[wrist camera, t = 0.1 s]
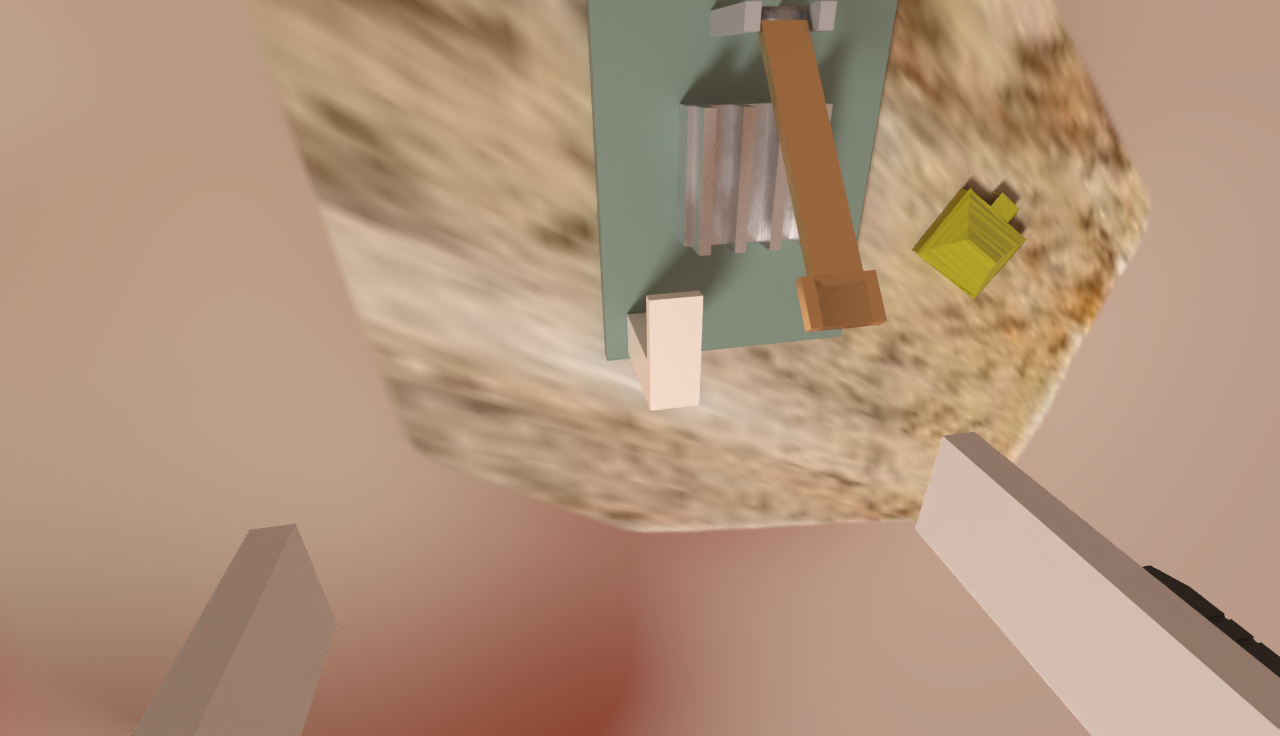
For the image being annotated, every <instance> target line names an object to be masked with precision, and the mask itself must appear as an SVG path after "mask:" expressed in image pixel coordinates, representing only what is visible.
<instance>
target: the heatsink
mask: <svg viewBox="0 0 1280 736" xmlns="http://www.w3.org/2000/svg"><path fill="white" fill-rule="evenodd" d="M826 107H827V111H828V115H829V120H830V122H831V114H832V107H833V104H830V103H826ZM677 239H678V240H679V241H680V242H681V243H682V244H683V245H684V246H685V247H691V248H692V249H693V250H694V251H695V252H696V253H697V254H698V255H699V256H705V255H711V245H717V244H725V245H726V246H727V247H728V248H729V249H730V250H732V251H733V252H734V253H744V252H746V243H747V242H758V243H760V244H761V245H762V246H764V247H765V248H767V249H768V250H769V251H770V250H780V247H781V240H785V239H790V240H792V241H793V242H795V243H796V244H798V245H799V246H801V245H800V240H799V235H798V230H797V225H796V220H795V215H794V210H793V205H792V200H791V195H790V190H789V186H788V181H787V176H786V171H785V166H784V161H783V156H782V151H781V146H780V141H779V136H778V131H777V126H776V121H775V116H774V112H773V107H772V102H771V101H748V102H717V103H687V104H679V142H678V214H677Z"/></svg>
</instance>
